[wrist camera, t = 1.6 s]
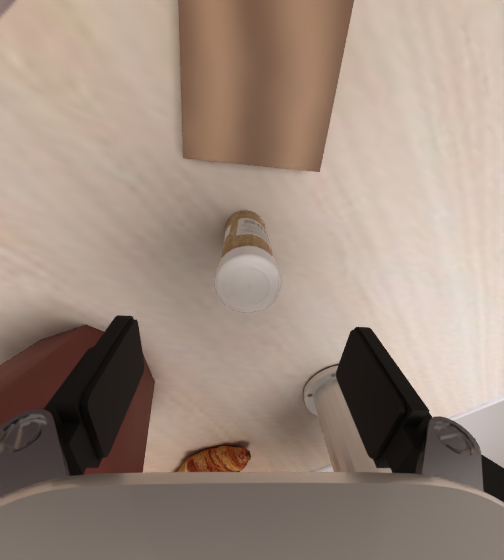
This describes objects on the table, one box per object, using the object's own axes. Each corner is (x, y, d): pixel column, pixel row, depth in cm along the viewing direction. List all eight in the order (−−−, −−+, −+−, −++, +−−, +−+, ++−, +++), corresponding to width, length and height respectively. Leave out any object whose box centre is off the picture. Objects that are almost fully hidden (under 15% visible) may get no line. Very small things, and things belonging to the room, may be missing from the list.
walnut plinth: (338, 8, 20) (358, -22, 17) (309, 168, 26) (319, 171, 22) (188, -14, 19) (177, -50, 16) (191, 156, 25) (183, 158, 21)
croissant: (185, 466, 57) (191, 511, 53) (147, 475, 50) (150, 528, 45) (256, 430, 51) (270, 477, 46) (225, 434, 44) (237, 491, 39)
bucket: (30, 411, 42) (-211, 706, 20) (-22, 299, 32) (-638, 648, 9) (179, 416, 44) (113, 690, 22) (175, 313, 34) (45, 628, 11)
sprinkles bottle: (217, 229, 28) (199, 286, 17) (246, 200, 27) (249, 241, 15) (245, 256, 30) (246, 325, 18) (273, 230, 29) (295, 288, 17)
